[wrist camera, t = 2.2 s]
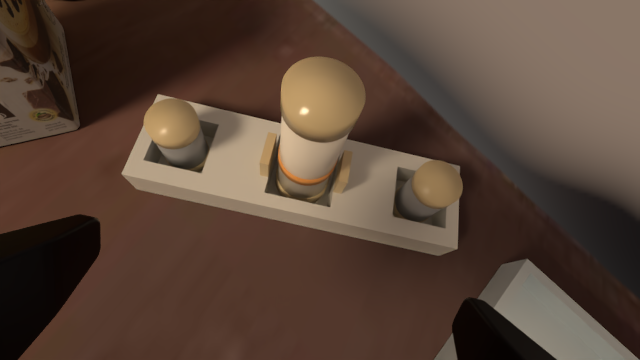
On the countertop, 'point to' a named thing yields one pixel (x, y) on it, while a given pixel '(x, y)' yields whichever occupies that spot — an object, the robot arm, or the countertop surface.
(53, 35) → the coffee box
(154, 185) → the fuse block
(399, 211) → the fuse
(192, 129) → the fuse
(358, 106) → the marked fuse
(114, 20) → the countertop surface
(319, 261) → the countertop surface
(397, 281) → the countertop surface
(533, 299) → the tray
